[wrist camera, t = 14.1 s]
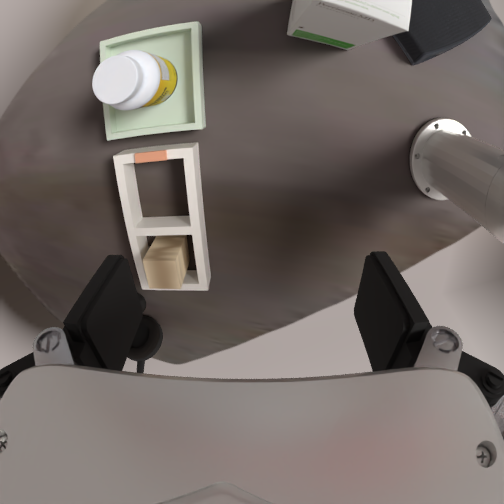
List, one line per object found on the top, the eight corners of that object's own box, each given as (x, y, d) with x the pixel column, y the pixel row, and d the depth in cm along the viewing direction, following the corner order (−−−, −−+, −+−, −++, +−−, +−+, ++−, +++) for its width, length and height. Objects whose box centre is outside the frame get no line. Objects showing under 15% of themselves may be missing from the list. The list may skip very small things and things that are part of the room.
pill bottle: (130, 107, 32) (84, 118, 22) (130, 60, 28) (83, 53, 18) (179, 103, 32) (147, 110, 22) (180, 54, 28) (147, 40, 18)
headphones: (137, 337, 54) (108, 423, 37) (100, 279, 47) (49, 367, 30) (174, 333, 53) (152, 427, 36) (140, 270, 46) (93, 368, 28)
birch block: (186, 234, 42) (175, 260, 36) (190, 260, 44) (180, 289, 38) (157, 234, 42) (142, 260, 36) (162, 260, 44) (149, 288, 38)
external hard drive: (356, -8, 24) (366, -16, 21) (440, -40, 18) (454, -46, 14) (412, 70, 29) (428, 70, 26) (485, 28, 23) (501, 27, 19)
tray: (201, 25, 27) (198, 21, 25) (205, 126, 34) (202, 129, 32) (108, 43, 27) (99, 41, 25) (115, 137, 34) (107, 140, 32)
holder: (198, 142, 35) (191, 148, 32) (210, 276, 46) (207, 292, 42) (124, 150, 35) (111, 156, 32) (148, 276, 46) (141, 291, 43)
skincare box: (285, 35, 28) (306, -1, 15) (293, -8, 25) (317, -62, 11) (351, 52, 29) (410, 35, 15) (358, 9, 25) (416, -25, 12)
